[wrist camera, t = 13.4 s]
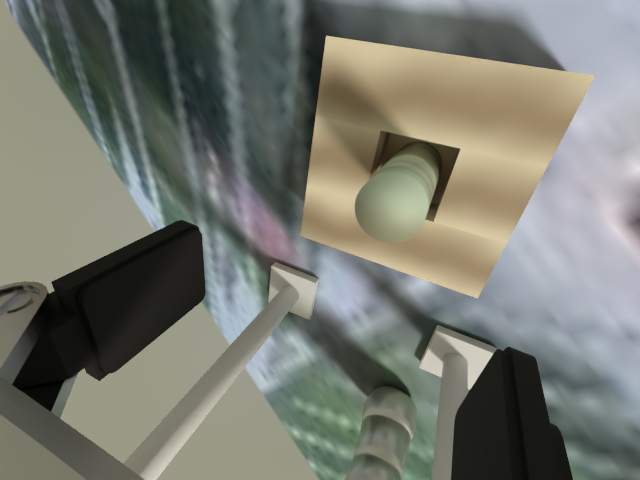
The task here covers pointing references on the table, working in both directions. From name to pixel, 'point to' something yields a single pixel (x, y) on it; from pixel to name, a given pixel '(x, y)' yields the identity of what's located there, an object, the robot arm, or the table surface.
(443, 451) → the two-post wooden stand
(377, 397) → the plastic bottle
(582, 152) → the table surface
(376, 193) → the peg
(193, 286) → the robot arm
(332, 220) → the socket block
